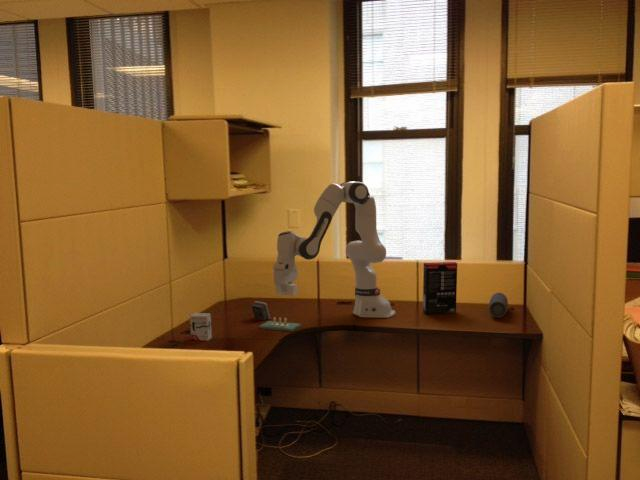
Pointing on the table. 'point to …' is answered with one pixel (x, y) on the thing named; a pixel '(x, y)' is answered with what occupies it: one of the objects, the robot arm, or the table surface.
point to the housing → (287, 289)
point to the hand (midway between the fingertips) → (286, 291)
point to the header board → (280, 325)
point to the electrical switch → (260, 310)
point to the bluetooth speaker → (498, 305)
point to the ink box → (200, 326)
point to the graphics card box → (439, 287)
